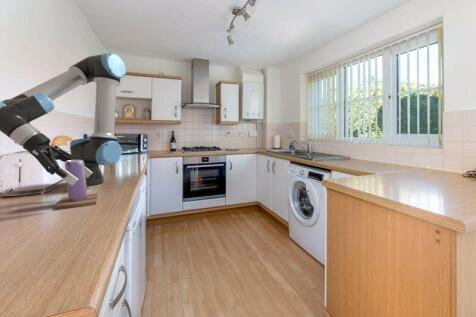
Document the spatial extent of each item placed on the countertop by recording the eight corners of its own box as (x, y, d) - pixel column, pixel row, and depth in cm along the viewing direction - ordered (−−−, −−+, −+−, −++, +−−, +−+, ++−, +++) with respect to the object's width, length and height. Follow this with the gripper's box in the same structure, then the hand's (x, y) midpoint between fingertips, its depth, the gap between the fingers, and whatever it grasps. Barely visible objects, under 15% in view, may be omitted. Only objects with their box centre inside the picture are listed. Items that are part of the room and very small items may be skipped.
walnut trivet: (62, 200, 91) (61, 197, 91) (97, 196, 97) (97, 193, 96) (55, 209, 80) (55, 206, 80) (96, 204, 86) (95, 201, 86)
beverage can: (78, 202, 85) (74, 161, 83) (64, 201, 86) (60, 161, 84) (91, 197, 91) (87, 159, 89) (78, 196, 92) (74, 159, 90)
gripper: (44, 145, 94) (88, 179, 100) (-3, 150, 70) (59, 194, 76) (57, 131, 95) (101, 166, 100) (15, 132, 71) (75, 177, 76)
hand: (83, 178), depth 88 cm, fingers open, 13 cm apart
